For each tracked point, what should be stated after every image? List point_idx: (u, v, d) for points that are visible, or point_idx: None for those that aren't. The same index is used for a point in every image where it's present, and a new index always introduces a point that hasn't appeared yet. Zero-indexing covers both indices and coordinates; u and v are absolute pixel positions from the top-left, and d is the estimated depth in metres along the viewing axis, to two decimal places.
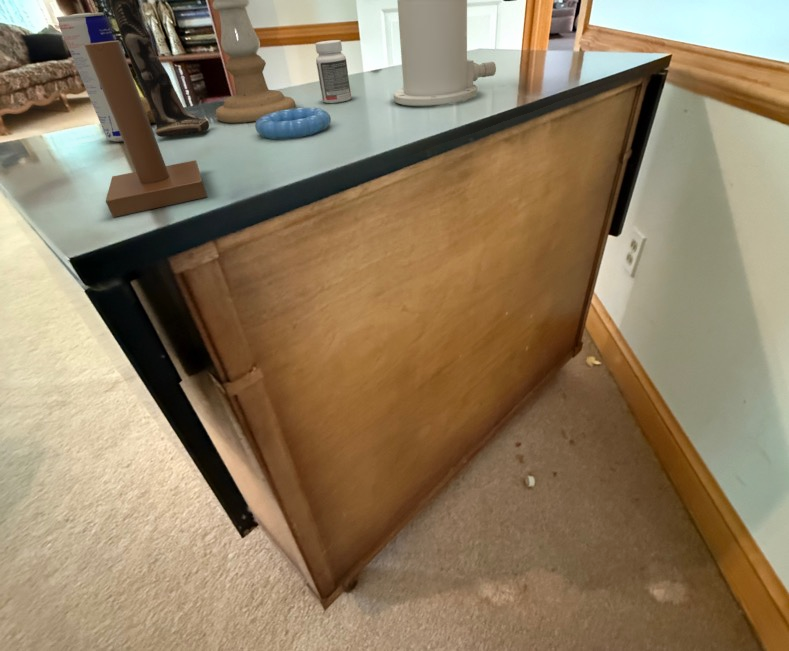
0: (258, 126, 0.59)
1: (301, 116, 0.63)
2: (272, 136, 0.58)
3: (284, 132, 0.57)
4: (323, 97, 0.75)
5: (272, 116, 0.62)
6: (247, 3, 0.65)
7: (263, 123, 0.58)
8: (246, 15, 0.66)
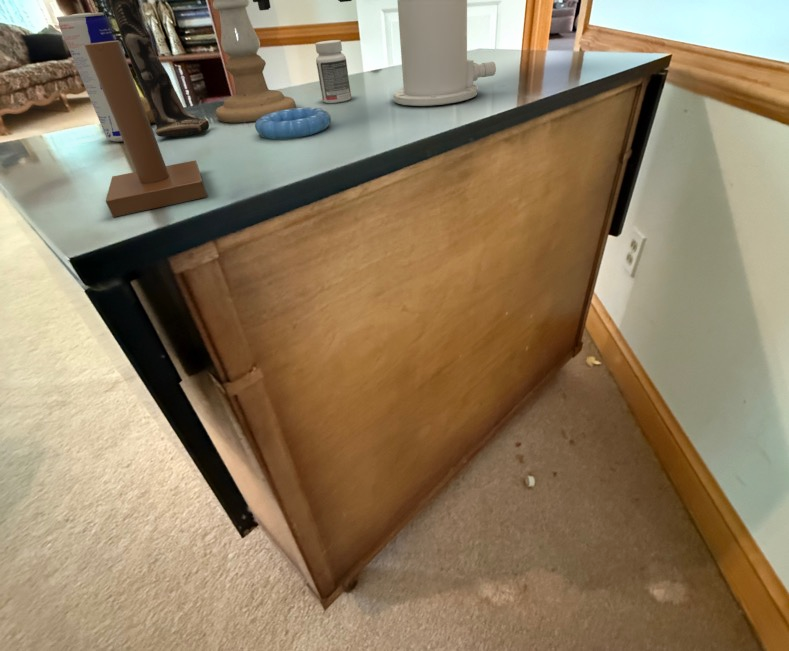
0: (258, 126, 0.59)
1: (301, 116, 0.63)
2: (272, 136, 0.58)
3: (284, 132, 0.57)
4: (323, 97, 0.75)
5: (272, 116, 0.62)
6: (247, 3, 0.65)
7: (263, 123, 0.58)
8: (246, 15, 0.66)
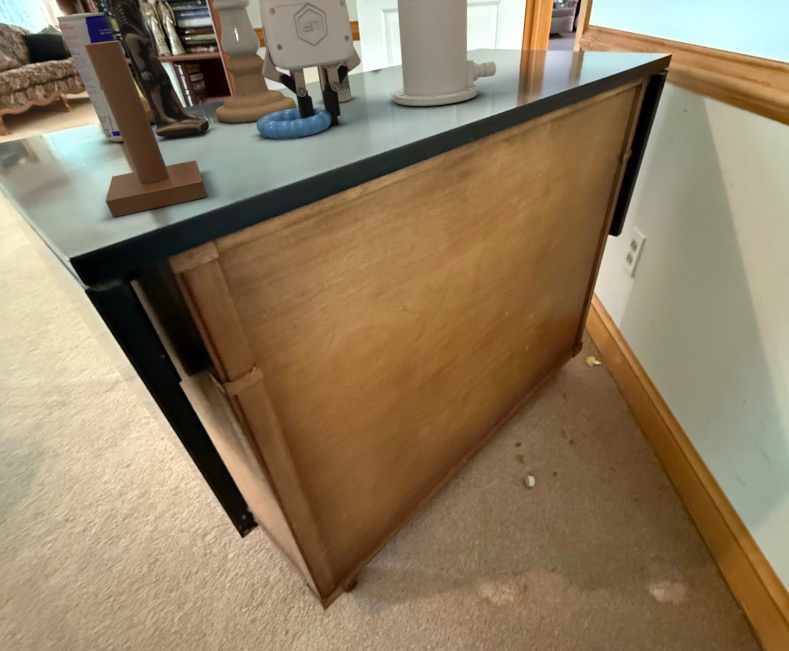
0: (260, 126, 0.59)
1: None
2: (273, 136, 0.58)
3: (285, 132, 0.57)
4: None
5: (273, 116, 0.62)
6: (247, 3, 0.65)
7: (265, 123, 0.58)
8: (246, 15, 0.66)
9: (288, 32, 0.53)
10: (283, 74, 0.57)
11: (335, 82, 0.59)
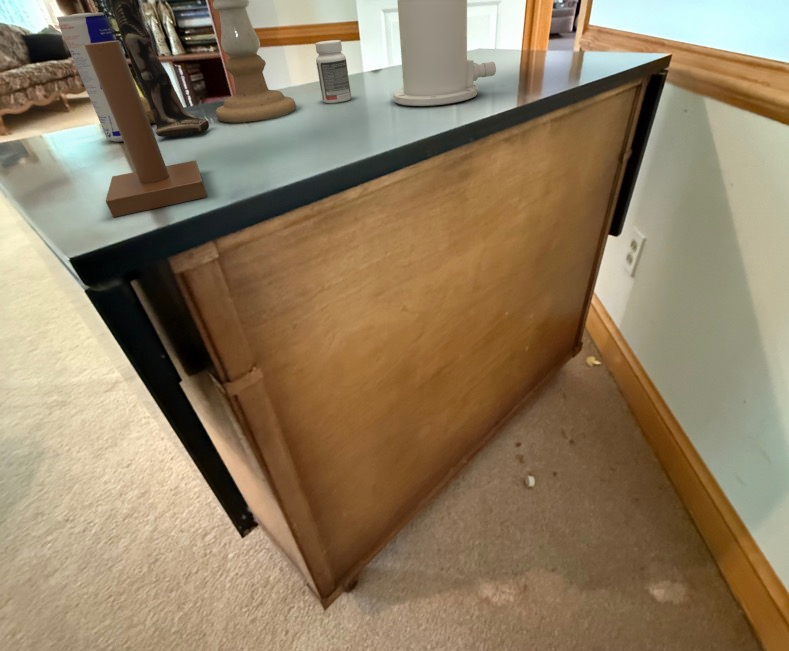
0: None
1: None
2: None
3: None
4: (323, 97, 0.75)
5: None
6: (247, 3, 0.65)
7: None
8: (246, 15, 0.66)
9: None
10: None
11: None
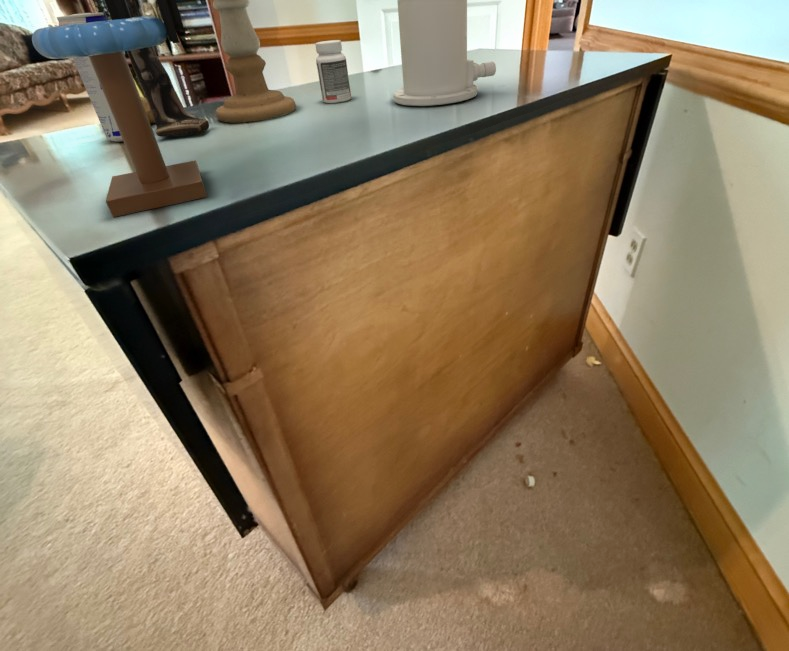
0: None
1: None
2: (51, 52, 0.34)
3: (67, 43, 0.33)
4: (323, 97, 0.75)
5: None
6: (247, 3, 0.65)
7: (37, 31, 0.34)
8: (246, 15, 0.66)
9: None
10: None
11: None
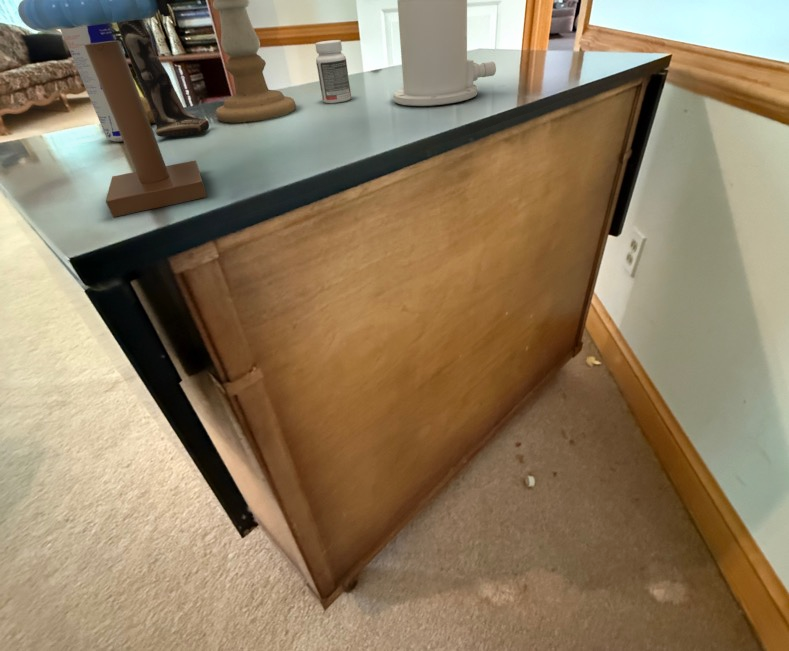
0: None
1: None
2: (38, 23, 0.33)
3: (54, 13, 0.32)
4: (323, 97, 0.75)
5: None
6: (247, 3, 0.65)
7: (24, 1, 0.33)
8: (246, 15, 0.66)
9: None
10: None
11: None
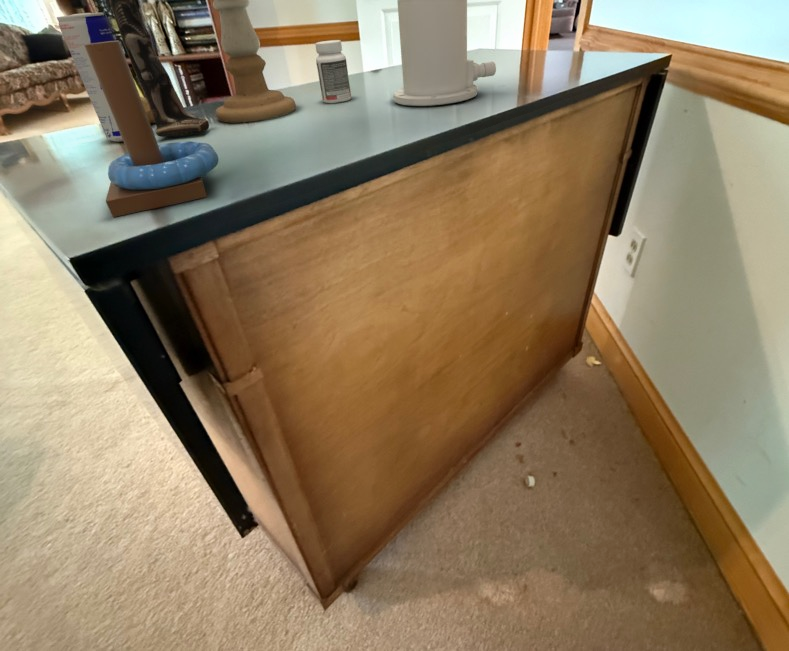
0: None
1: (181, 154, 0.46)
2: (127, 187, 0.41)
3: (142, 182, 0.40)
4: (323, 97, 0.75)
5: None
6: (247, 3, 0.65)
7: (114, 168, 0.41)
8: (246, 15, 0.66)
9: None
10: None
11: None
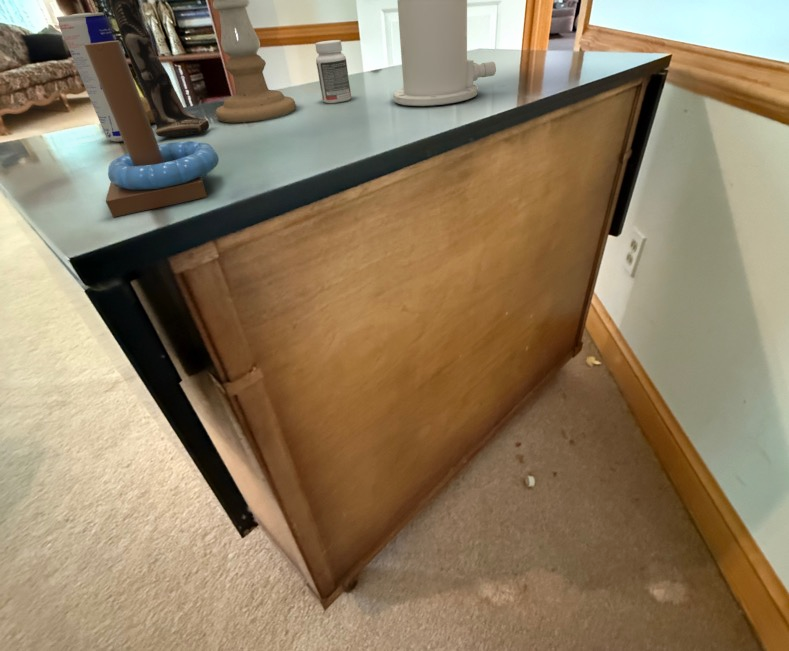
0: None
1: (181, 154, 0.46)
2: (127, 187, 0.41)
3: (142, 182, 0.40)
4: (323, 97, 0.75)
5: None
6: (247, 3, 0.65)
7: (114, 168, 0.41)
8: (246, 15, 0.66)
9: None
10: None
11: None
